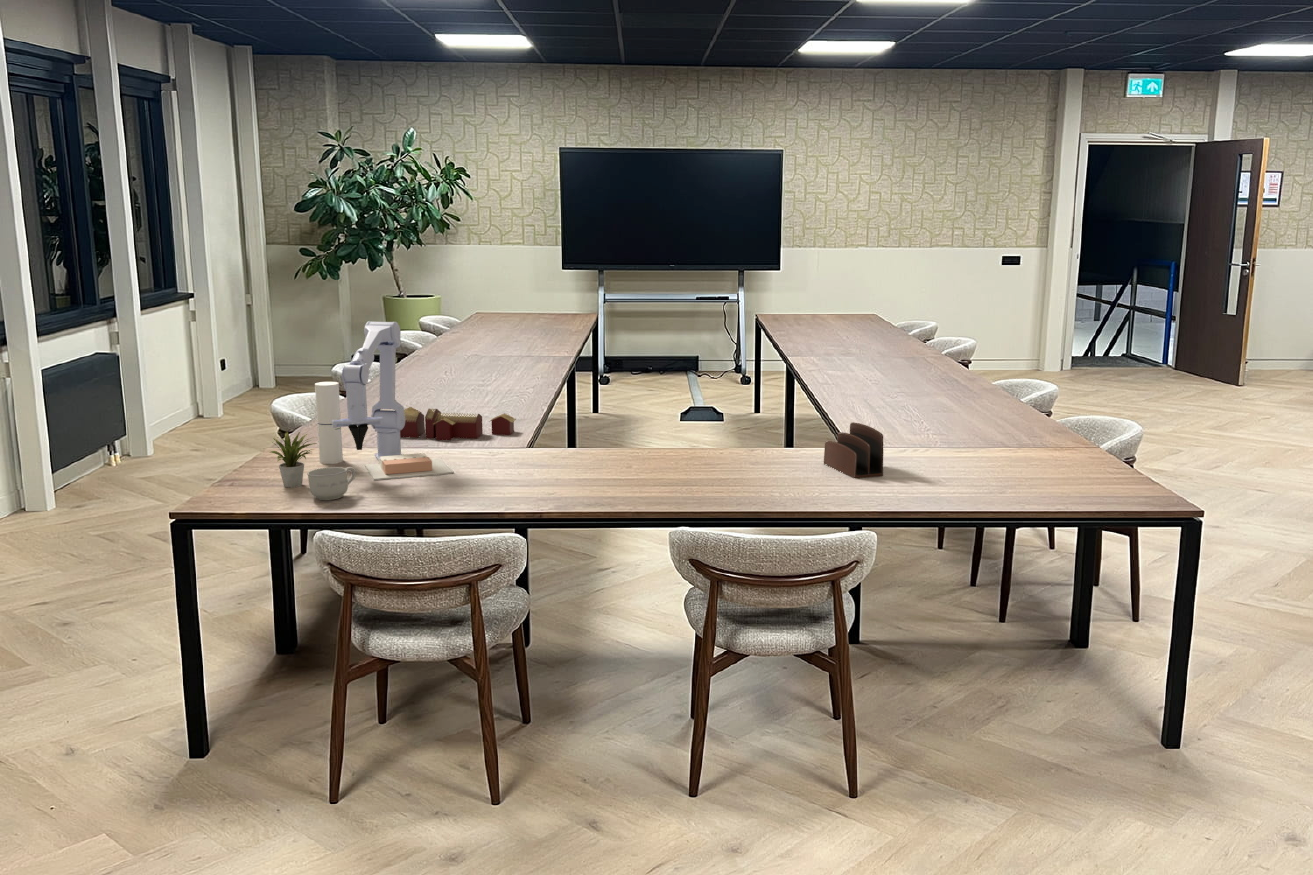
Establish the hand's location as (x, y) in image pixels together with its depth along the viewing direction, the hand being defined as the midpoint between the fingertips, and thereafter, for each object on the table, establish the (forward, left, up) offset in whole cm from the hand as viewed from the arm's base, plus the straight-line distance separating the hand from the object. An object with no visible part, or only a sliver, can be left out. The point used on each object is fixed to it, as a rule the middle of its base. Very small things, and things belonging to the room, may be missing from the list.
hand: (359, 449), depth 339 cm
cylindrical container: (-23, -6, -9) cm, 26 cm away
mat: (-3, +15, -8) cm, 18 cm away
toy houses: (-51, +38, -9) cm, 64 cm away
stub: (0, +14, -8) cm, 16 cm away
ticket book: (-6, +14, -8) cm, 18 cm away
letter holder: (+46, +143, -9) cm, 151 cm away
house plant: (+5, -20, -9) cm, 22 cm away
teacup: (+21, -10, -9) cm, 25 cm away
